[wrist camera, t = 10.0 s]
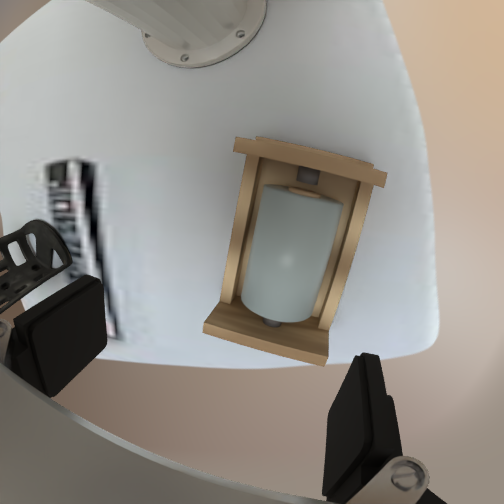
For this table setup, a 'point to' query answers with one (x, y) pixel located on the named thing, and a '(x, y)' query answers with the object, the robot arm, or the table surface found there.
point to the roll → (289, 252)
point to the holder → (29, 262)
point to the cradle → (345, 243)
